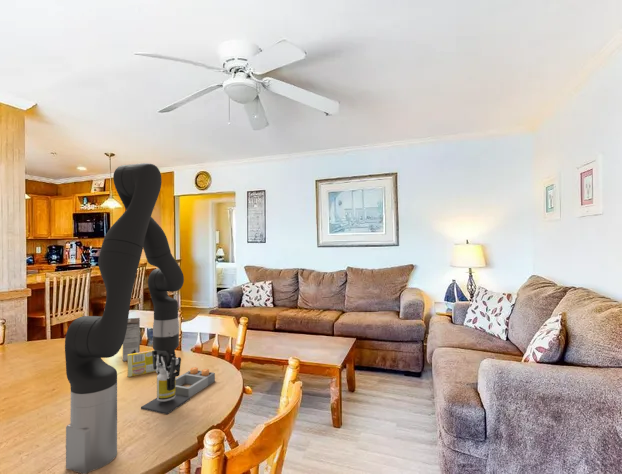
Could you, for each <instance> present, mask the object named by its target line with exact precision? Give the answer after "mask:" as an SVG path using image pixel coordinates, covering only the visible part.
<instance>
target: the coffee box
mask: <svg viewBox="0 0 622 474" xmlns="http://www.w3.org/2000/svg"><path fill="white" fill-rule="evenodd" d="M140 323H141V322H140V317H136V318H128V324H127V330H126V335H125V339H124V342H123V345H122V361H123V362H128V359H127V354H133V353H139V352H141V351H140V350H141V349H140V347H141V345H140V343H141V342H140V341H141V339H140V333H141V332H140V329H141V327H140Z"/></svg>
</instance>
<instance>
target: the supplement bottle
mask: <svg viewBox="0 0 622 474" xmlns="http://www.w3.org/2000/svg"><path fill="white" fill-rule="evenodd" d="M169 367H171V366H168V368H169ZM159 372H160V374H158V376H156V398H157V400H158V401H169V400H172V399H173V398H175V396H176V378H177V376H176V377H175V388H174V389H173V390H170V391H168V390H167V374H166V371H164V367H163V365H162V366H160V367H159ZM169 372H170V370H169Z"/></svg>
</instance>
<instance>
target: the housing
mask: <svg viewBox="0 0 622 474" xmlns="http://www.w3.org/2000/svg"><path fill="white" fill-rule="evenodd" d="M215 379H216V373H215V372H210V371H209V375H208V376H202V370H199V369H198V373H197V374H190V370H189V371H187V372H185V373H183V374H181V375H179V376H176V395H179V396H185V397H190V398H192V397H193V396H194V395H196V394H197V393H199V392H201V391H202V390H204V389H205V388H206V387H209V386H210V385H211V384H213V383H214V382H216V381H215ZM185 384H186V385H187V384H188V385H190V386H183V385H185Z"/></svg>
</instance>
